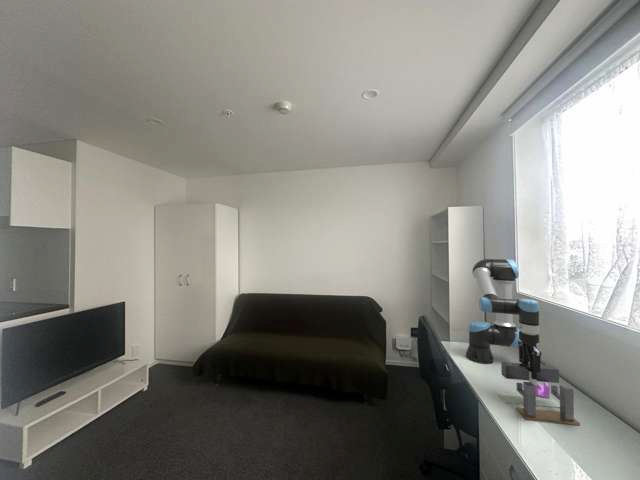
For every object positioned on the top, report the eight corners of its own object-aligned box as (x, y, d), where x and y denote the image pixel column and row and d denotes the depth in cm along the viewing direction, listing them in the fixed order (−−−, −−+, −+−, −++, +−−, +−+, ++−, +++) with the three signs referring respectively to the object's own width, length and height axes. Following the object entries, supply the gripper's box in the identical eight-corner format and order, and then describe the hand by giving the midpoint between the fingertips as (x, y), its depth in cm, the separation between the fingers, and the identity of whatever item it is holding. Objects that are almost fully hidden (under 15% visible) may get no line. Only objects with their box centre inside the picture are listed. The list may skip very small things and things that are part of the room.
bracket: (549, 399, 123) (549, 385, 123) (534, 396, 126) (534, 381, 126) (543, 386, 134) (542, 373, 134) (529, 383, 137) (529, 370, 137)
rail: (501, 374, 125) (501, 362, 125) (552, 378, 121) (552, 365, 122) (506, 378, 121) (505, 365, 121) (559, 383, 117) (558, 369, 118)
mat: (498, 394, 126) (498, 393, 126) (553, 399, 122) (553, 398, 122) (505, 402, 120) (505, 401, 120) (563, 408, 116) (563, 407, 116)
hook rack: (511, 405, 118) (511, 374, 118) (561, 410, 115) (560, 378, 115) (525, 419, 108) (525, 386, 109) (580, 425, 105) (579, 391, 105)
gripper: (509, 326, 131) (510, 373, 130) (531, 338, 114) (532, 391, 113) (526, 327, 130) (526, 374, 129) (550, 339, 113) (551, 393, 112)
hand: (529, 382), depth 121 cm, fingers closed on rail, 4 cm apart
